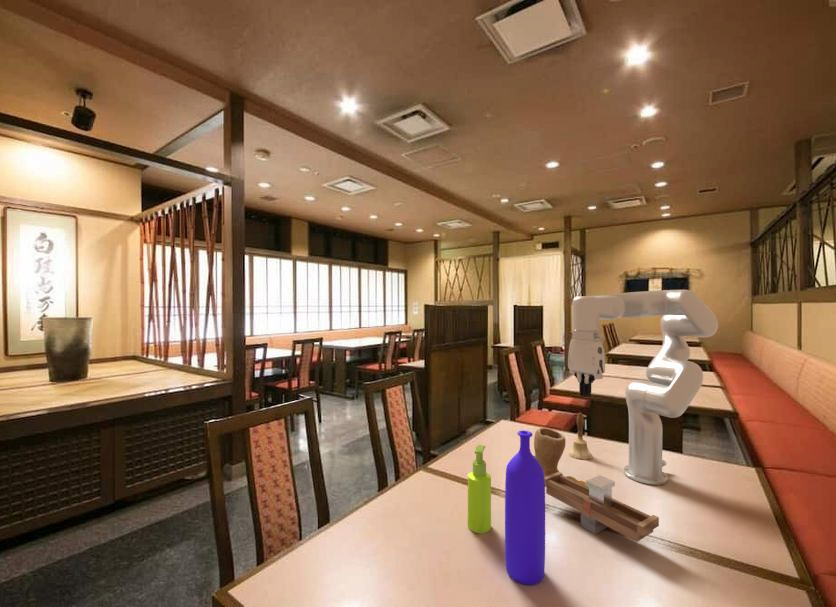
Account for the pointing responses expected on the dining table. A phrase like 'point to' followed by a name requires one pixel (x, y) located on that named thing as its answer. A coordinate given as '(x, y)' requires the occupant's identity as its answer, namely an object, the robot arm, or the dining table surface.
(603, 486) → the rider
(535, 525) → the bottle
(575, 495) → the beam
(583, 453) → the hand bell
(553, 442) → the stone cup
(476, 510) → the soap dispenser
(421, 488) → the dining table surface
